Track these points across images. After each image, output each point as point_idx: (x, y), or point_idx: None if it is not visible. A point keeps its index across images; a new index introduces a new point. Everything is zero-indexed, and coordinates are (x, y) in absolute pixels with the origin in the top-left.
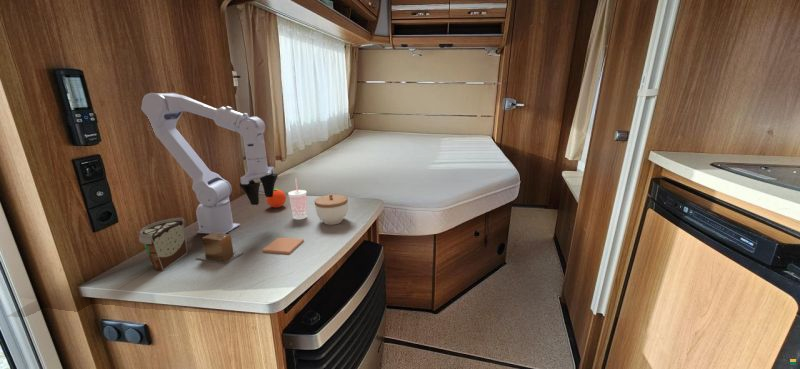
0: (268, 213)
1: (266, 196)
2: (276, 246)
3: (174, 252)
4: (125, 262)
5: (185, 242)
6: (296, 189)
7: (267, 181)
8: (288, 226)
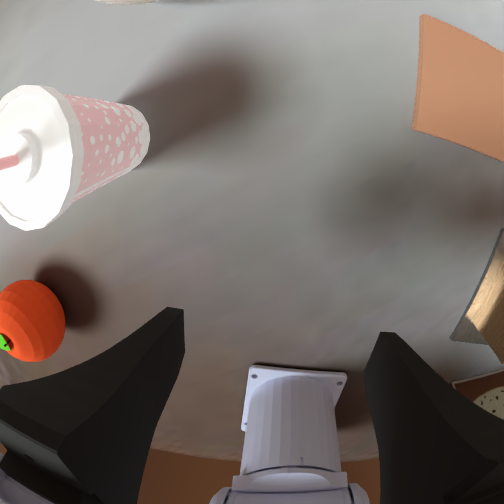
0: (110, 310)
1: (184, 350)
2: (489, 114)
3: (492, 390)
4: None
5: None
6: (3, 166)
7: (126, 444)
8: (250, 139)
